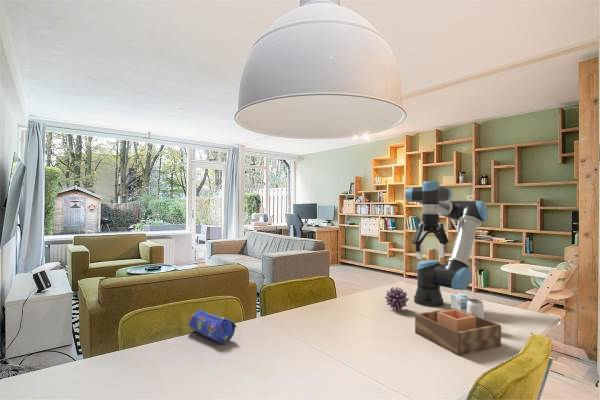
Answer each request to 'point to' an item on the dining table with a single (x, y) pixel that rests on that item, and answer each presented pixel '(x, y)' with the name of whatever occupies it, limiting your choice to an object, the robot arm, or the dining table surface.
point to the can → (475, 307)
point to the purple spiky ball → (396, 298)
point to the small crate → (456, 320)
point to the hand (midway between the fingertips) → (430, 258)
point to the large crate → (458, 334)
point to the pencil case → (212, 326)
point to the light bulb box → (459, 301)
